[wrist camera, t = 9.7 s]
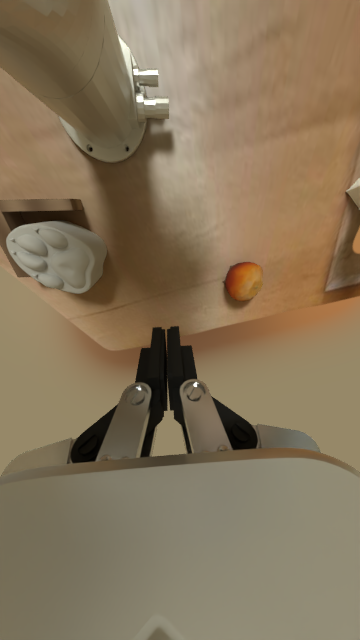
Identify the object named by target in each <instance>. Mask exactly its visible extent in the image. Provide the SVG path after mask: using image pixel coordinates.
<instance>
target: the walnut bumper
mask: <svg viewBox="0 0 360 640" xmlns="http://www.w3.org/2000/svg"><path fill="white" fill-rule="evenodd" d="M60 210H83V207H82V204H81V200H80V199H31V200H0V245H1V247H2V249H3V251H4V252H5V254H6V256H7V258H8V260H9V262H10V263H11V265H12V267H13V269H14V271H15V273H16V275H17V276H18V277H31V276H30V275H28V274H27V273H26V272H25V271H24V270H22V269H21V268H20V267H19V266H18V264H17V263H16V262H15V261H14V259H13V258H12V256H11V255H10V253H9V251H8V248H7V244H6V239H7V236H8V235H9V234H10V233H11V232H12V231H13V230H14V229H15V228H17V227H19V226H22V225H25V223H24V221H23V218H22V216H21V214H20V212H19V211H60Z"/></svg>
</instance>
